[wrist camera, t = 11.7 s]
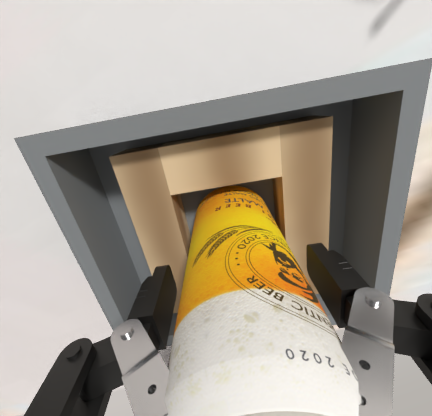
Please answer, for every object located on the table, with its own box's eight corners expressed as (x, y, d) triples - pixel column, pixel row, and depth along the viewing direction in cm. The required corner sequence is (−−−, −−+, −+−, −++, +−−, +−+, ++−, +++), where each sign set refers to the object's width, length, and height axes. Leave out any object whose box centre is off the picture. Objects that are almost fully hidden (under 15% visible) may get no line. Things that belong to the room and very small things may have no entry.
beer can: (280, 204, 19) (464, 462, 5) (241, 256, 21) (294, 538, 7) (218, 168, 17) (234, 381, 4) (183, 227, 20) (111, 503, 6)
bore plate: (171, 289, 22) (165, 314, 20) (126, 149, 17) (108, 156, 14) (312, 269, 22) (326, 292, 19) (312, 115, 16) (333, 116, 13)
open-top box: (142, 301, 24) (123, 351, 19) (72, 130, 17) (13, 138, 12) (347, 272, 23) (385, 318, 18) (363, 74, 16) (433, 57, 11)
